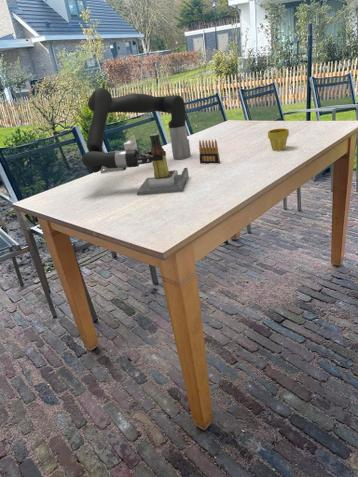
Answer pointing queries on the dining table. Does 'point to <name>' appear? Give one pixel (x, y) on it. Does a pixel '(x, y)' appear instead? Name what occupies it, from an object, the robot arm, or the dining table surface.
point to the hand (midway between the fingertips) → (164, 155)
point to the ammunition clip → (208, 152)
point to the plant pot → (278, 138)
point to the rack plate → (164, 183)
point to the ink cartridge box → (130, 144)
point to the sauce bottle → (161, 165)
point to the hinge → (110, 168)
